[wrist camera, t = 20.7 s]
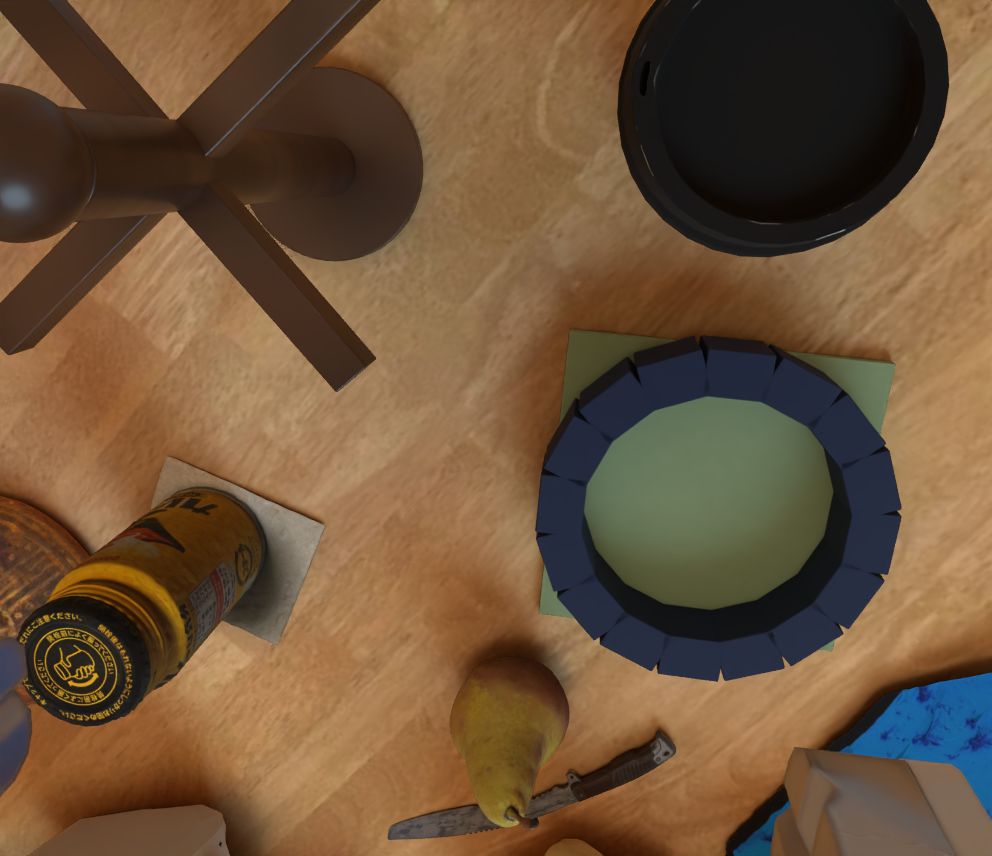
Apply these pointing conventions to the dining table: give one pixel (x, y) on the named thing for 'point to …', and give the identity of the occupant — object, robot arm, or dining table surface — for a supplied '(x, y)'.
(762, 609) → the ring
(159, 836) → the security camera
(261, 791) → the dining table surface
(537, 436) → the dining table surface
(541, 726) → the fruit
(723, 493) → the mat
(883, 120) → the coffee cup
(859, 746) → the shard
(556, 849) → the sculpture
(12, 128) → the stand
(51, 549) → the bell
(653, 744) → the knife
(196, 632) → the condiment
